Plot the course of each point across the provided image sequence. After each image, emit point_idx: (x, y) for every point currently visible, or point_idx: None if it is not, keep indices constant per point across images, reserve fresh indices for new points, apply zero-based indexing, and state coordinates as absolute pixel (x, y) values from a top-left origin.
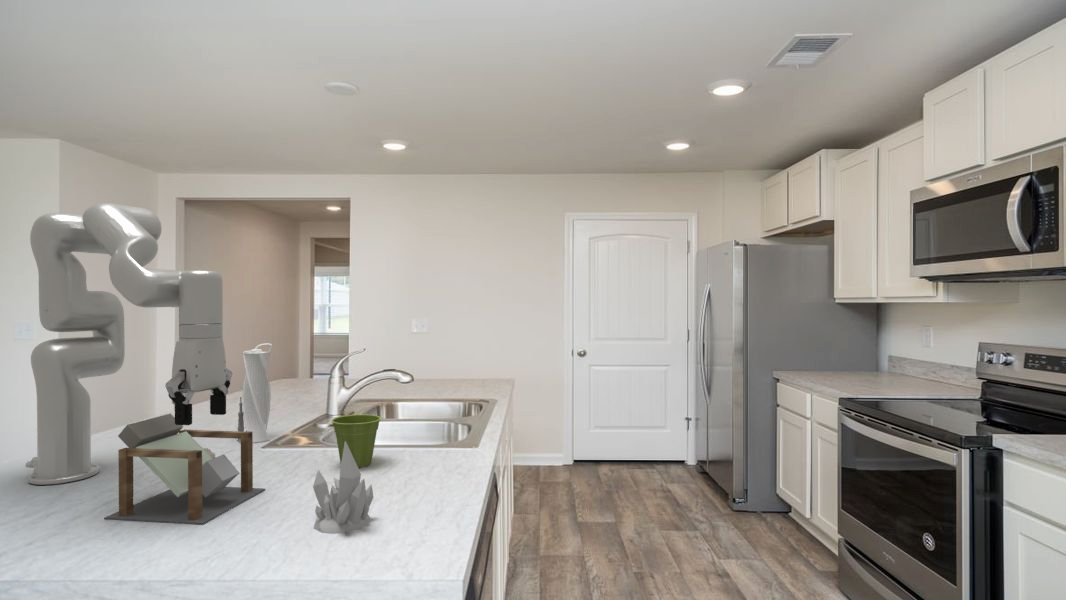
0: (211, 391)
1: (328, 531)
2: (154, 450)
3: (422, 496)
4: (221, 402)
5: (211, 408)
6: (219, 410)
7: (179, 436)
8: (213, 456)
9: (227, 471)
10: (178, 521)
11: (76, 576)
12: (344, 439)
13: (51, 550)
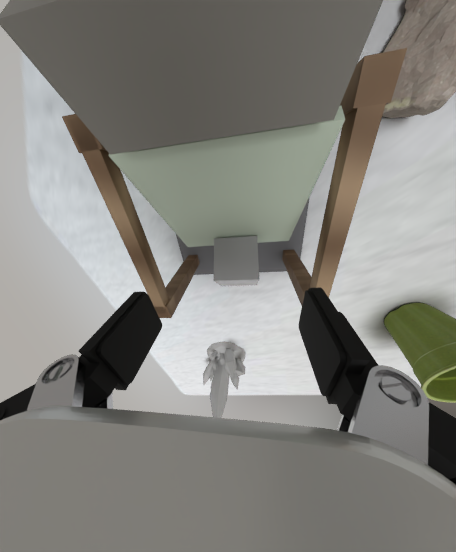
0: (364, 392)
1: (207, 353)
2: (124, 239)
3: (284, 376)
4: (313, 362)
5: (312, 308)
6: (305, 327)
7: (286, 142)
8: (445, 96)
9: (238, 284)
10: (180, 249)
11: (76, 254)
12: (415, 348)
13: (68, 171)
